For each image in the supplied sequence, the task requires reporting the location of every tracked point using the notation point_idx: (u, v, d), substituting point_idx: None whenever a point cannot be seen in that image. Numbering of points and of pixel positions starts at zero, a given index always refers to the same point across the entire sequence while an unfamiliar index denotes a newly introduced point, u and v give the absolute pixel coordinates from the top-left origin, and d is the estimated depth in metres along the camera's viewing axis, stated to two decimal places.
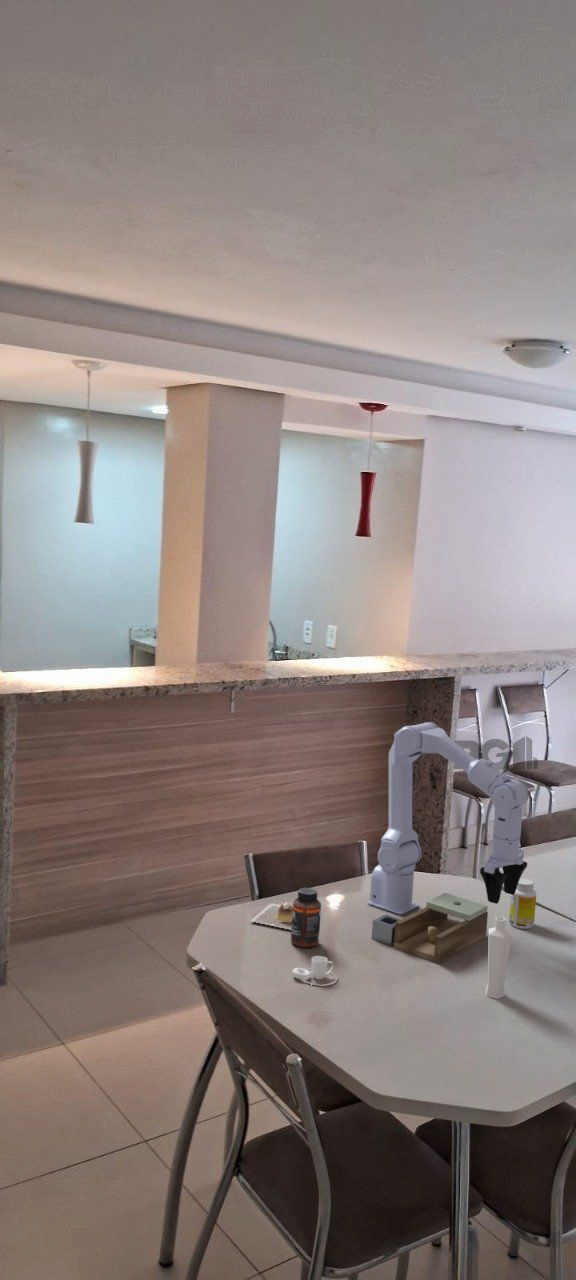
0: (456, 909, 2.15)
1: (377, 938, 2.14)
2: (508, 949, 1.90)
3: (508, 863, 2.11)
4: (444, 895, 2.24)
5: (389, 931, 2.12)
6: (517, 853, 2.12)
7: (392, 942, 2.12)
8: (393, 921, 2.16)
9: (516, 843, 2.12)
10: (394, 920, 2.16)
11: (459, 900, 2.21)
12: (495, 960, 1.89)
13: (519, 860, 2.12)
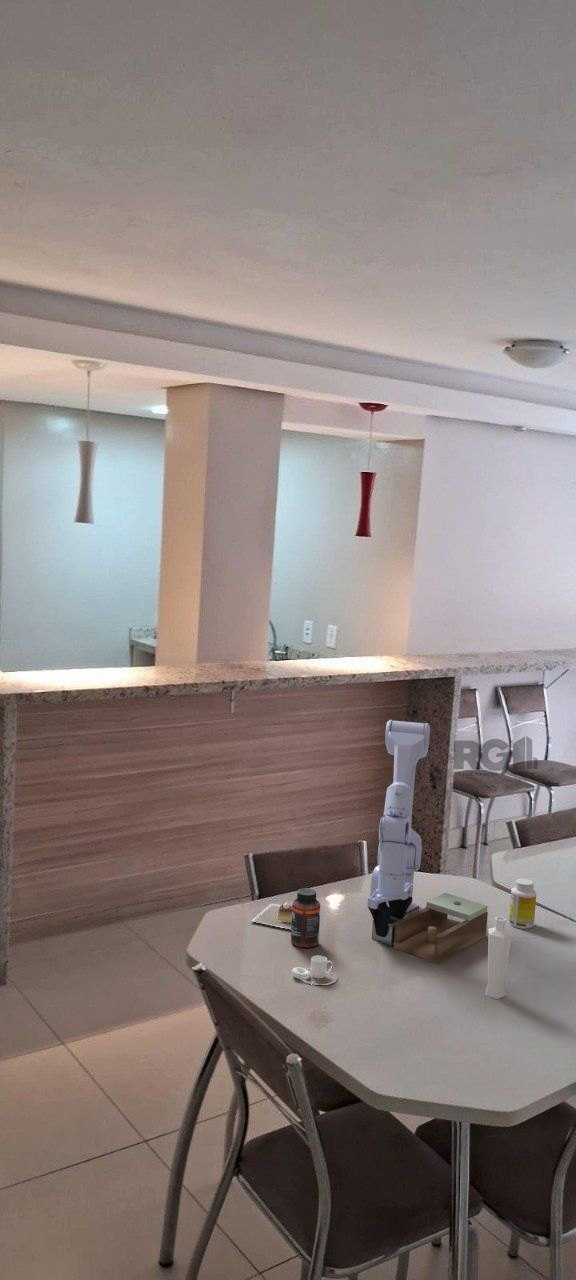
0: (456, 909, 2.15)
1: (377, 938, 2.14)
2: (508, 949, 1.90)
3: (392, 898, 2.11)
4: (444, 895, 2.24)
5: (389, 931, 2.12)
6: (402, 888, 2.12)
7: (392, 942, 2.12)
8: (393, 921, 2.16)
9: (401, 878, 2.11)
10: (394, 920, 2.16)
11: (459, 900, 2.21)
12: (495, 960, 1.89)
13: (404, 895, 2.12)
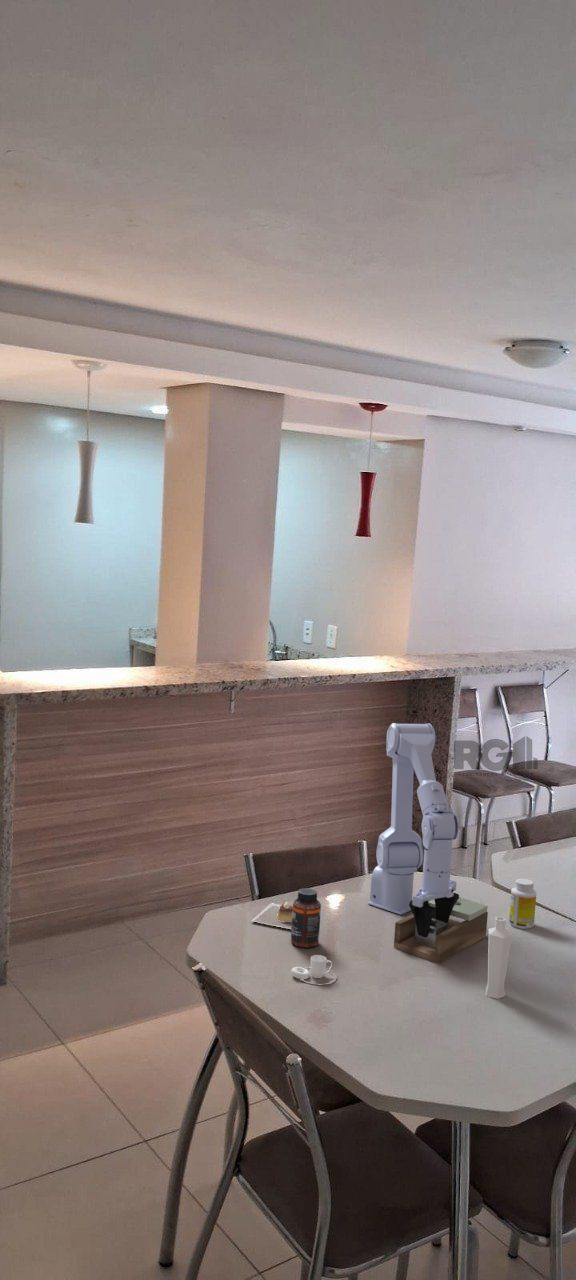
0: (456, 909, 2.15)
1: (420, 941, 2.11)
2: (508, 949, 1.90)
3: (437, 896, 2.07)
4: None
5: (433, 934, 2.08)
6: (447, 886, 2.09)
7: None
8: (436, 924, 2.13)
9: (446, 876, 2.08)
10: (437, 923, 2.12)
11: (459, 900, 2.21)
12: (495, 960, 1.89)
13: (449, 893, 2.08)
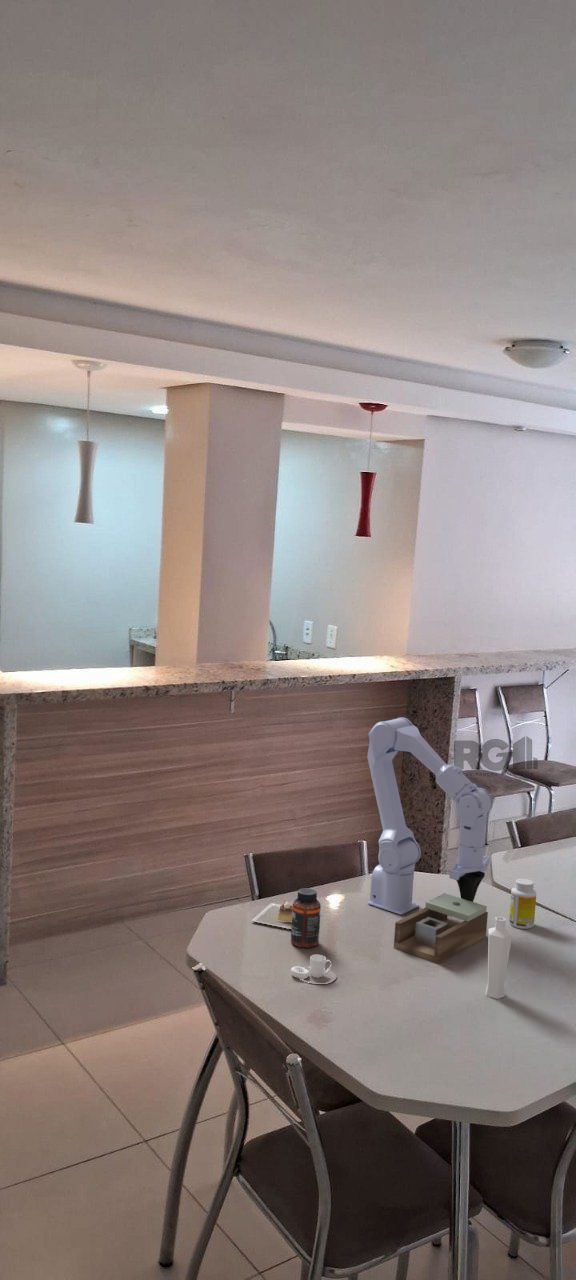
0: (455, 909, 2.15)
1: (420, 941, 2.11)
2: (508, 949, 1.90)
3: (473, 870, 2.18)
4: (443, 895, 2.23)
5: (433, 934, 2.08)
6: (481, 860, 2.20)
7: None
8: (436, 924, 2.13)
9: (480, 850, 2.19)
10: (437, 923, 2.12)
11: (458, 900, 2.21)
12: (495, 960, 1.89)
13: (483, 867, 2.19)
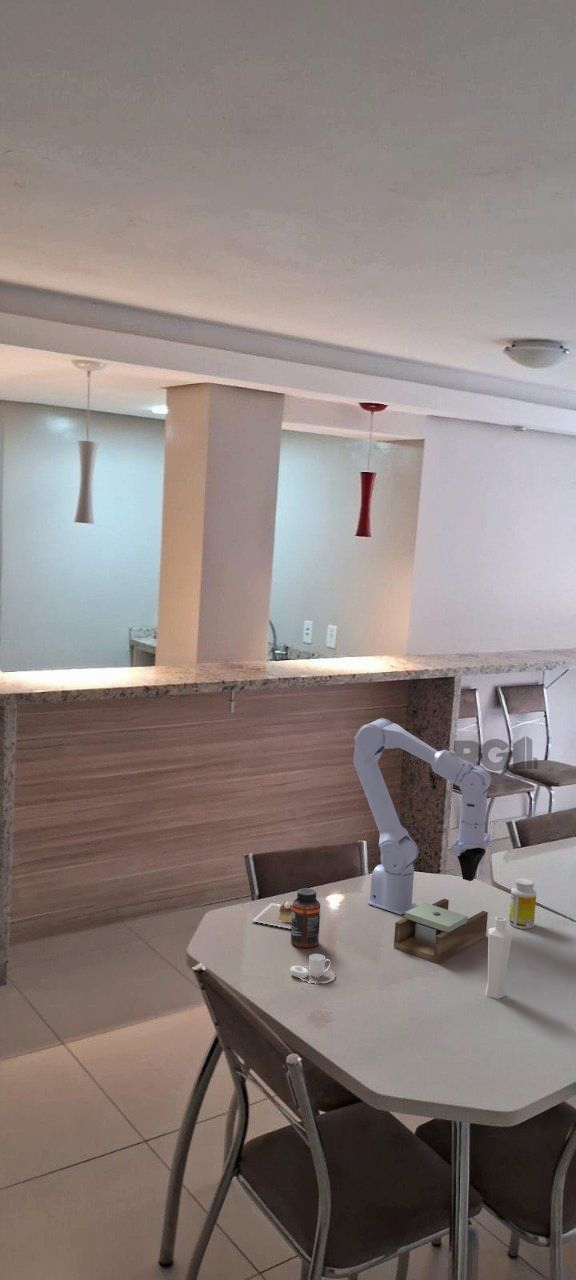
0: (435, 920, 2.09)
1: (420, 941, 2.11)
2: (508, 949, 1.90)
3: (473, 846, 2.21)
4: (423, 905, 2.17)
5: (433, 934, 2.08)
6: (482, 837, 2.23)
7: None
8: None
9: (481, 827, 2.22)
10: None
11: (438, 910, 2.14)
12: (495, 960, 1.89)
13: (484, 843, 2.23)
